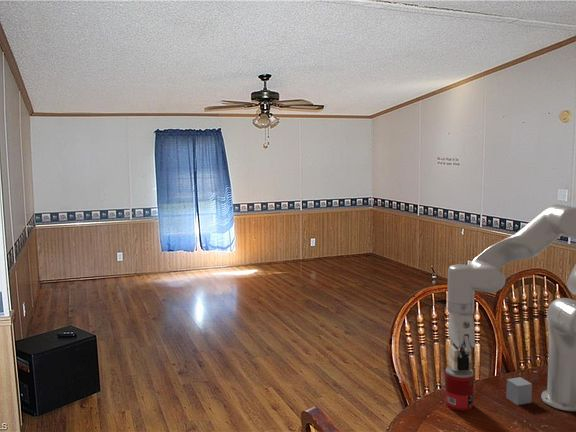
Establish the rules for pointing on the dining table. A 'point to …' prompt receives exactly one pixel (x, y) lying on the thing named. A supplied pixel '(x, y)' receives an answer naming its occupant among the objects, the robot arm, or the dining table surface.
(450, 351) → the birch block
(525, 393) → the slate block
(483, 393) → the dining table surface
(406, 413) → the dining table surface
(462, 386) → the canned food
